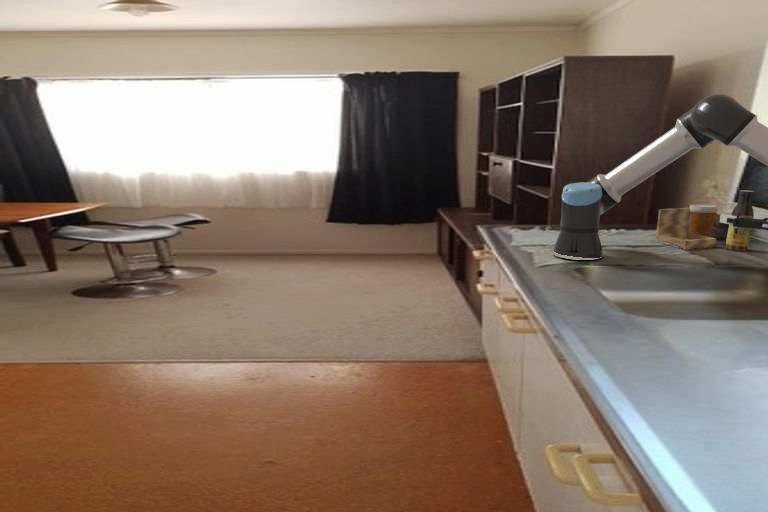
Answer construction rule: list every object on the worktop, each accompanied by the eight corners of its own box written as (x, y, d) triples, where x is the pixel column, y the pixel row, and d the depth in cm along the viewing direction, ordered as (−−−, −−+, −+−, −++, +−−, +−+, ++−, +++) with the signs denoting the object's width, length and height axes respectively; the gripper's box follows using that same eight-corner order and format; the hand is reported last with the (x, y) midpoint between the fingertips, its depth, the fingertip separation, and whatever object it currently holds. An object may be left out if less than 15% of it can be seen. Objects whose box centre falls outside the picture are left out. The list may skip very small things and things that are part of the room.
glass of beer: (686, 233, 194) (690, 203, 191) (715, 236, 189) (719, 204, 186) (683, 237, 187) (687, 206, 184) (713, 240, 181) (718, 207, 178)
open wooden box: (684, 249, 167) (689, 214, 165) (655, 241, 180) (658, 209, 177) (715, 246, 170) (720, 212, 167) (684, 239, 183) (688, 207, 180)
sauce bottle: (730, 251, 163) (739, 191, 158) (721, 247, 169) (729, 189, 164) (752, 252, 162) (761, 191, 157) (742, 248, 168) (751, 189, 163)
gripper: (766, 242, 142) (705, 230, 163) (834, 237, 148) (766, 226, 168) (770, 217, 141) (708, 207, 161) (838, 212, 146) (769, 204, 166)
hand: (737, 217), depth 164 cm, fingers open, 13 cm apart
